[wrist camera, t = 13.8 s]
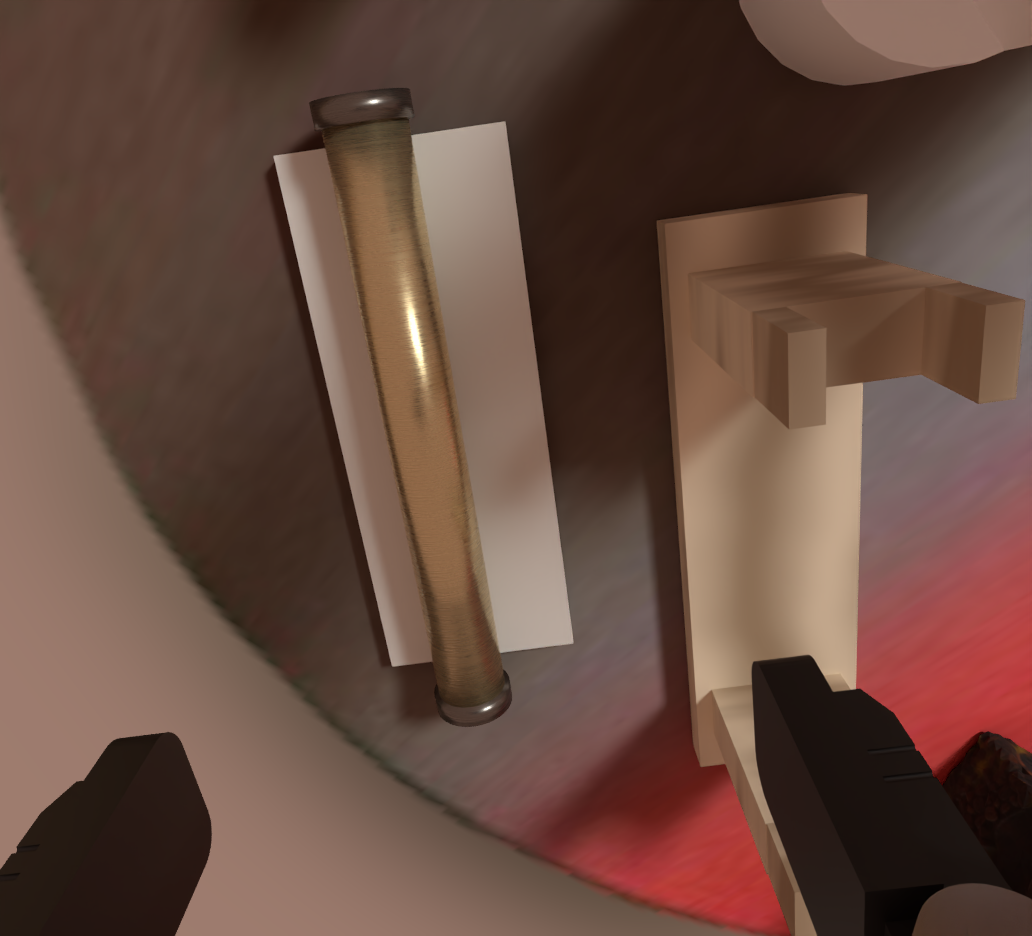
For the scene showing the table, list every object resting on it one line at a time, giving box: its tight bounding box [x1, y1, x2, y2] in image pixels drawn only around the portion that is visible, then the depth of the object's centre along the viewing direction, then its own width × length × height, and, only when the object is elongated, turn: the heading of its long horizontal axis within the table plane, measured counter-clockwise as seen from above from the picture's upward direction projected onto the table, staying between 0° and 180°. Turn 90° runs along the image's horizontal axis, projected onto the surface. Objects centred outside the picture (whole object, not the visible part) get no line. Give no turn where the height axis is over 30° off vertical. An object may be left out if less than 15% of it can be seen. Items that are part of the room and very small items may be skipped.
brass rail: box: [309, 88, 512, 727], centre depth 30 cm, size 24×3×3 cm, turn 8°
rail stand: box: [657, 193, 1025, 936], centre depth 28 cm, size 7×24×12 cm, turn 8°
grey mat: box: [273, 121, 574, 667], centre depth 31 cm, size 8×21×1 cm, turn 8°
